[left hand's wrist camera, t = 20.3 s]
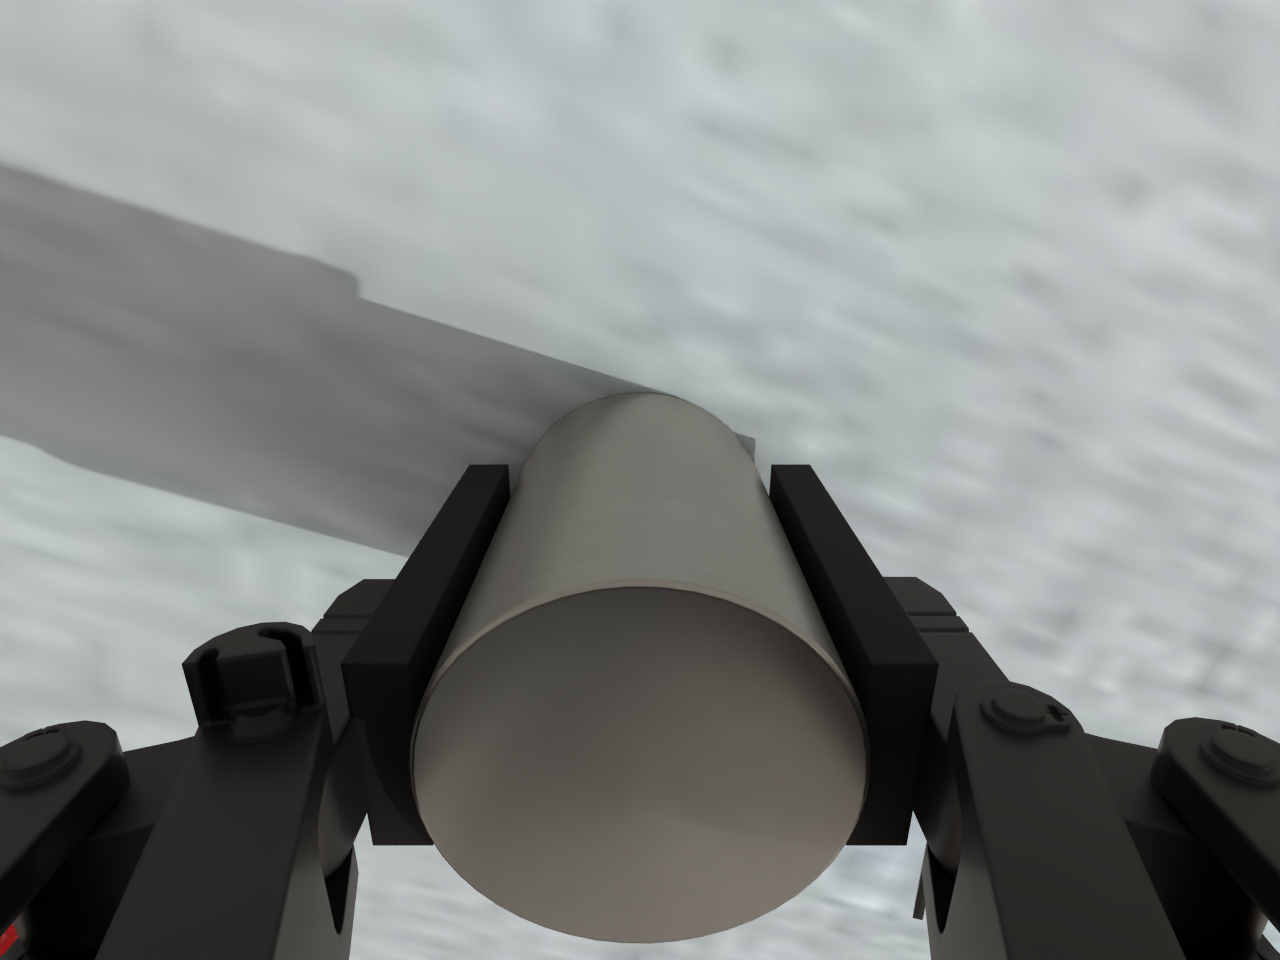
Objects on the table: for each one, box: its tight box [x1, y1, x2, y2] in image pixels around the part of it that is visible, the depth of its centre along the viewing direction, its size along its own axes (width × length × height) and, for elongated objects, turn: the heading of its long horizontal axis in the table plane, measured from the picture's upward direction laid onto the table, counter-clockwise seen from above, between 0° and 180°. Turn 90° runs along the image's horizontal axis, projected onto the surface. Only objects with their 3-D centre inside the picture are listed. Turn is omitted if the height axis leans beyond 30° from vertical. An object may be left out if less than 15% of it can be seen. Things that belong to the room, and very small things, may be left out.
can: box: [409, 393, 871, 943], centre depth 12 cm, size 5×5×8 cm
